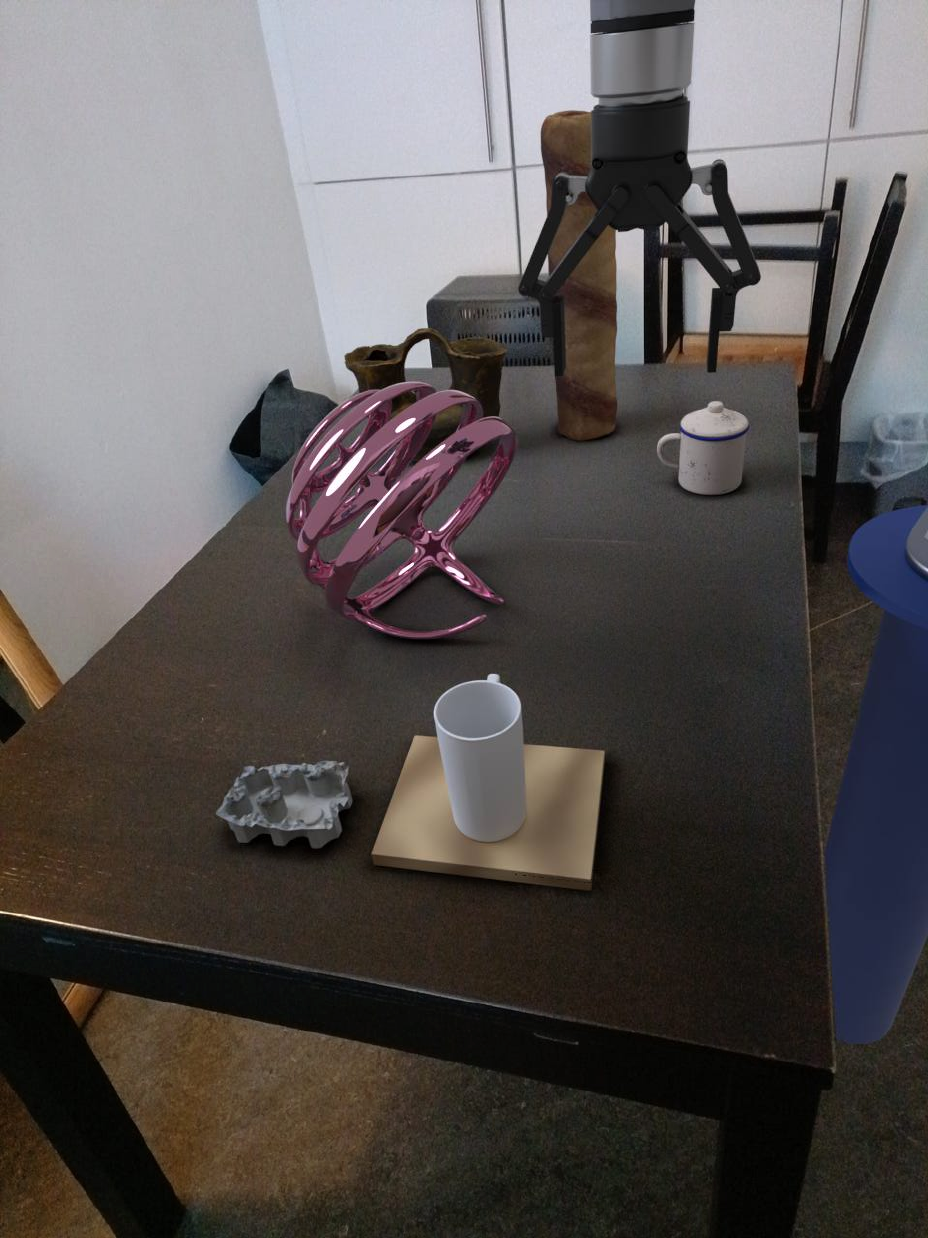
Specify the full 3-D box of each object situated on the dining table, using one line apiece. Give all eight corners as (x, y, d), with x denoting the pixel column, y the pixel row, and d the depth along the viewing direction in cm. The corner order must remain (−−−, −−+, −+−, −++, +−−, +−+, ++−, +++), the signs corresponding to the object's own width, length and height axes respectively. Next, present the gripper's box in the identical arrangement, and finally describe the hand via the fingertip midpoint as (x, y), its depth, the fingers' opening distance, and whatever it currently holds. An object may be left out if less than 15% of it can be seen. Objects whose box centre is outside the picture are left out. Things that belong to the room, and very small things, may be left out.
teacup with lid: (740, 467, 119) (748, 389, 112) (745, 497, 112) (754, 415, 105) (655, 467, 122) (658, 391, 115) (655, 497, 115) (658, 417, 108)
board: (604, 762, 75) (604, 750, 74) (591, 891, 64) (591, 879, 63) (416, 746, 79) (414, 735, 79) (373, 865, 68) (370, 854, 68)
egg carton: (361, 791, 75) (353, 760, 73) (333, 858, 70) (323, 826, 67) (255, 779, 78) (245, 748, 76) (219, 842, 72) (206, 811, 70)
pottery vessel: (358, 473, 131) (334, 348, 119) (366, 444, 139) (344, 326, 128) (515, 460, 129) (506, 332, 117) (513, 432, 137) (505, 310, 126)
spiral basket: (628, 458, 81) (433, 281, 84) (432, 642, 71) (219, 434, 74) (552, 569, 107) (405, 430, 110) (400, 715, 97) (244, 558, 100)
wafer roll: (551, 418, 140) (538, 112, 114) (613, 413, 140) (615, 103, 113) (553, 444, 132) (541, 119, 106) (620, 438, 131) (624, 109, 105)
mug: (520, 851, 66) (510, 744, 59) (441, 839, 68) (422, 734, 61) (543, 761, 74) (536, 658, 67) (471, 753, 76) (457, 651, 69)
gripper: (807, 76, 63) (774, 351, 75) (490, 107, 69) (507, 358, 81) (820, 84, 57) (782, 380, 70) (472, 118, 63) (493, 386, 75)
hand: (634, 369), depth 75 cm, fingers open, 13 cm apart
